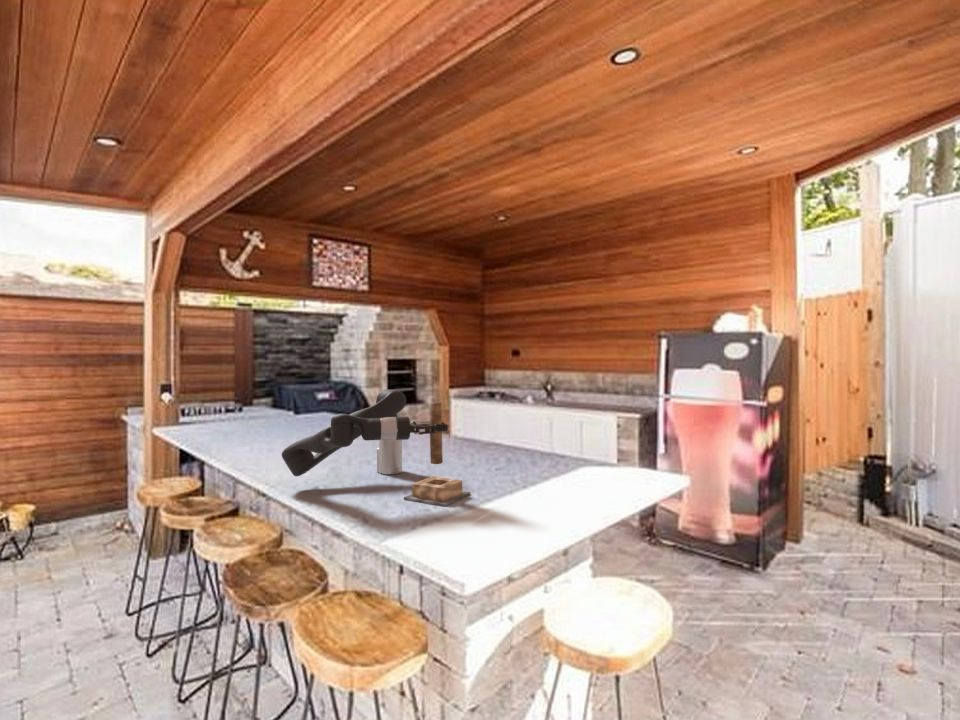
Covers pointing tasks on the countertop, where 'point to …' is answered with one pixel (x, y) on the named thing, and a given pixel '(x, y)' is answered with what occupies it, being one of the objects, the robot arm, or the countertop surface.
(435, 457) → the peg
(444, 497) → the socket block
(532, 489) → the countertop surface
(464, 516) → the countertop surface
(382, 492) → the countertop surface
